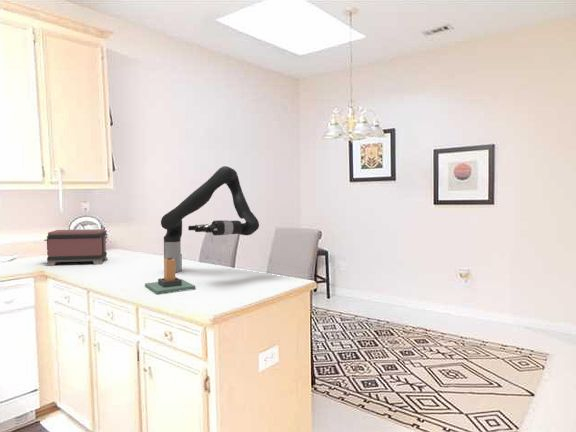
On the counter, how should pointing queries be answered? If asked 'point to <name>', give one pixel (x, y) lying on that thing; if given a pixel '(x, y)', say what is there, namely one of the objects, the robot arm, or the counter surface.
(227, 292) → the counter surface
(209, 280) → the counter surface
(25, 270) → the counter surface
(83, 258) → the reddish brown chest
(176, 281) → the board
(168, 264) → the plug
